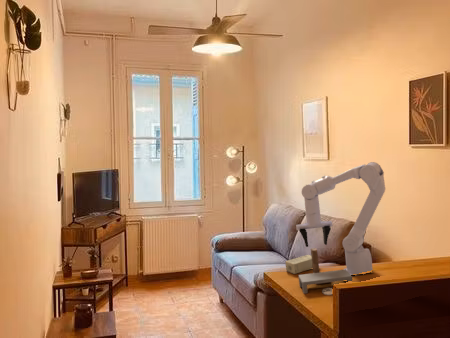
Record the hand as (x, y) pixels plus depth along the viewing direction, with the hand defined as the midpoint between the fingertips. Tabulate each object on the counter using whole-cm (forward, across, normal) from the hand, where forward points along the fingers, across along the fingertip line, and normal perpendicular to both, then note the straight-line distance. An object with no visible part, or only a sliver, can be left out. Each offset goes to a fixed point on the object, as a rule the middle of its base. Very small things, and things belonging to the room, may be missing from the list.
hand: (316, 245), depth 178 cm
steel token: (+11, +2, +25) cm, 27 cm away
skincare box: (+8, +12, -1) cm, 15 cm away
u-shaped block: (+10, +2, +19) cm, 22 cm away
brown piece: (+10, +2, +9) cm, 14 cm away
